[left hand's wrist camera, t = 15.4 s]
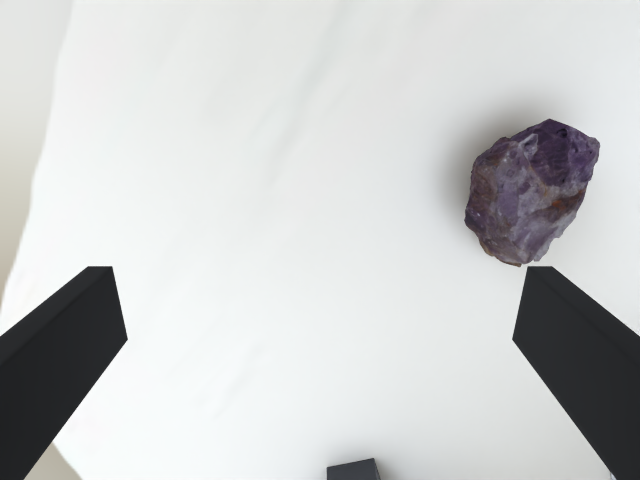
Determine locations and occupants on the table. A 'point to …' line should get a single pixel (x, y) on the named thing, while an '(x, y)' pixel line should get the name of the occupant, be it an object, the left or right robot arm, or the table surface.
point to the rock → (529, 190)
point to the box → (354, 471)
